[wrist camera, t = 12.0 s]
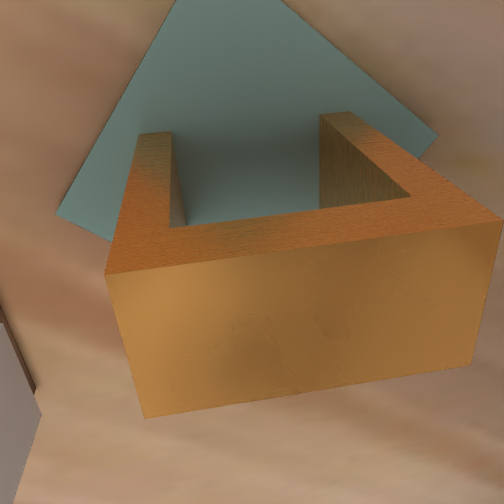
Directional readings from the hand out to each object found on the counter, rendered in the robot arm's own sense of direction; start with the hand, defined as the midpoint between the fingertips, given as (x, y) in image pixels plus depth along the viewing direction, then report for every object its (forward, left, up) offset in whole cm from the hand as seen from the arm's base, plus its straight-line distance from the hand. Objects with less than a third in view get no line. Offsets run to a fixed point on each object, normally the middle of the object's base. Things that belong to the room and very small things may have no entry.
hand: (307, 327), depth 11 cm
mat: (0, 0, -10) cm, 10 cm away
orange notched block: (0, 0, -9) cm, 9 cm away
